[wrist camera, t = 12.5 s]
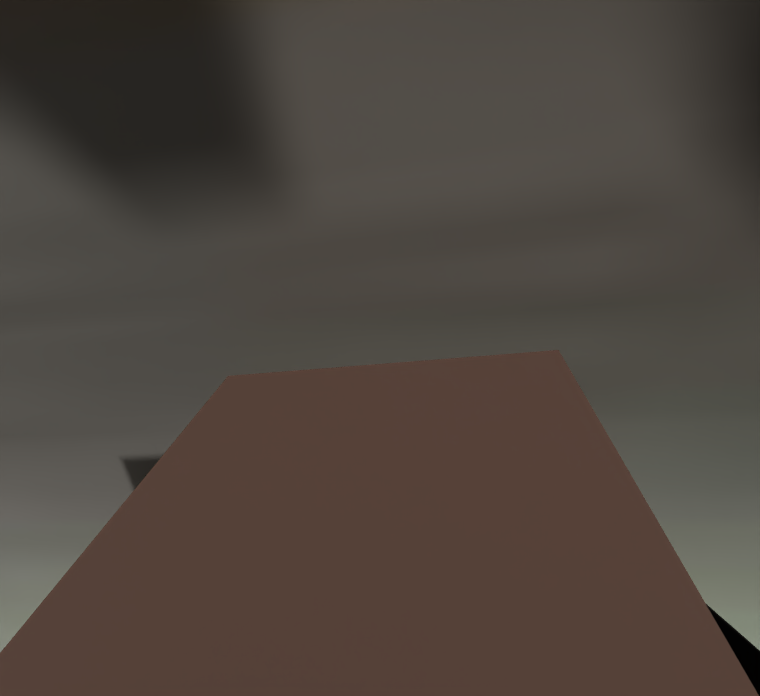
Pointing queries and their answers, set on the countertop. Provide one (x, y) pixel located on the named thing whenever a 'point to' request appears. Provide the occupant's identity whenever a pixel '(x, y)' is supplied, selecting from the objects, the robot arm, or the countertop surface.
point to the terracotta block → (382, 551)
